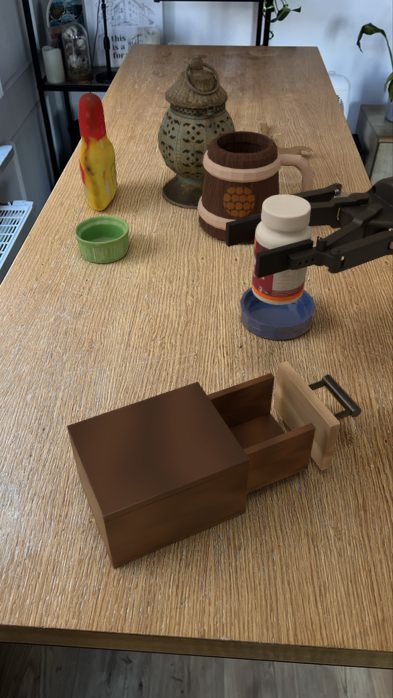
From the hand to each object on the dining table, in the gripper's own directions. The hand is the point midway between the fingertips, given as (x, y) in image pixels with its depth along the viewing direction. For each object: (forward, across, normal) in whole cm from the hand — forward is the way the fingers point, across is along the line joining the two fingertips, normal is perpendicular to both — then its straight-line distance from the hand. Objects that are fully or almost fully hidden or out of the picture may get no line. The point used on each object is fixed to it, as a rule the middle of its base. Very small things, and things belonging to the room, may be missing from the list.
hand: (242, 249), depth 63 cm
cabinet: (+16, +12, +20) cm, 28 cm away
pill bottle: (-5, 0, +7) cm, 9 cm away
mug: (-21, -34, +20) cm, 45 cm away
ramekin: (+6, -37, +20) cm, 42 cm away
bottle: (+1, -54, +20) cm, 58 cm away
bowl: (-11, -9, +20) cm, 24 cm away
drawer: (+2, +12, +19) cm, 23 cm away
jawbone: (-45, -62, +20) cm, 79 cm away
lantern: (-17, -49, +20) cm, 55 cm away
